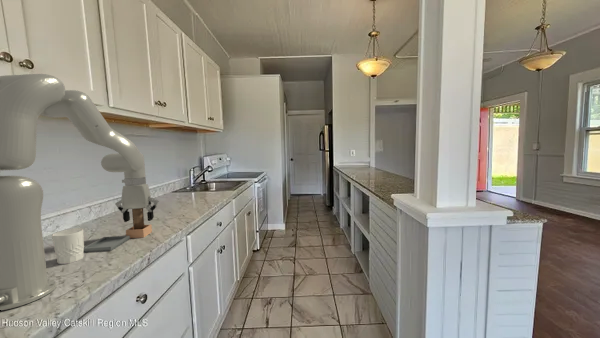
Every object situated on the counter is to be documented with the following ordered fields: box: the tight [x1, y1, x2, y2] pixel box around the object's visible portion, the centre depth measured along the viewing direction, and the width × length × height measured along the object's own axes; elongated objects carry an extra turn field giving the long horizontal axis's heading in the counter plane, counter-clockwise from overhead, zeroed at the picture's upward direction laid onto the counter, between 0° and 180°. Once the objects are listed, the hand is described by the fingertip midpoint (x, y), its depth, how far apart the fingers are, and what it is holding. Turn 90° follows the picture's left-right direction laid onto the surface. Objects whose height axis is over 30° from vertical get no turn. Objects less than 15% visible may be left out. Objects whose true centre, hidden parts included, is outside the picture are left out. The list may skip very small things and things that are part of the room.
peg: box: [131, 208, 145, 230], centre depth 108 cm, size 4×4×12 cm
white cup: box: [51, 228, 85, 265], centre depth 85 cm, size 8×8×10 cm
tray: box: [84, 235, 131, 253], centre depth 97 cm, size 12×10×2 cm
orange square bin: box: [125, 224, 153, 239], centre depth 108 cm, size 7×7×4 cm
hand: (138, 220), depth 108 cm, fingers open, 9 cm apart
